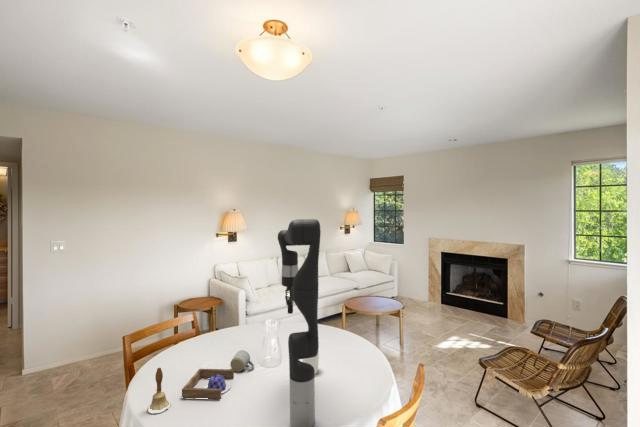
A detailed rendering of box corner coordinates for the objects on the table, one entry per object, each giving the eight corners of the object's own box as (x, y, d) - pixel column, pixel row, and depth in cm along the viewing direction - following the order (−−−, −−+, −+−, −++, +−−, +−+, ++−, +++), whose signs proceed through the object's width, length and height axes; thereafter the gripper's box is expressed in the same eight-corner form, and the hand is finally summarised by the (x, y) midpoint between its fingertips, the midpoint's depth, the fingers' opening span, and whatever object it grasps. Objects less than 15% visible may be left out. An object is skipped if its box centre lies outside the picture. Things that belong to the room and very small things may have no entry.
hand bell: (164, 399, 136) (163, 361, 136) (174, 407, 131) (173, 367, 131) (143, 409, 130) (142, 369, 129) (153, 417, 124) (152, 376, 124)
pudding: (205, 382, 149) (205, 371, 149) (232, 380, 151) (232, 369, 151) (199, 398, 137) (199, 385, 137) (228, 395, 139) (228, 383, 139)
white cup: (317, 376, 153) (316, 355, 153) (300, 375, 155) (300, 354, 155) (320, 368, 161) (320, 348, 161) (304, 367, 163) (304, 347, 162)
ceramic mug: (229, 372, 158) (229, 356, 158) (236, 364, 166) (236, 349, 166) (250, 374, 156) (250, 358, 156) (256, 365, 165) (256, 350, 164)
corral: (220, 399, 135) (220, 390, 135) (182, 399, 136) (181, 389, 136) (233, 377, 153) (233, 369, 153) (199, 377, 154) (199, 368, 154)
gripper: (296, 277, 140) (296, 318, 140) (300, 271, 153) (300, 308, 153) (279, 277, 140) (279, 318, 140) (284, 271, 153) (284, 308, 154)
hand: (290, 313), depth 147 cm, fingers closed
